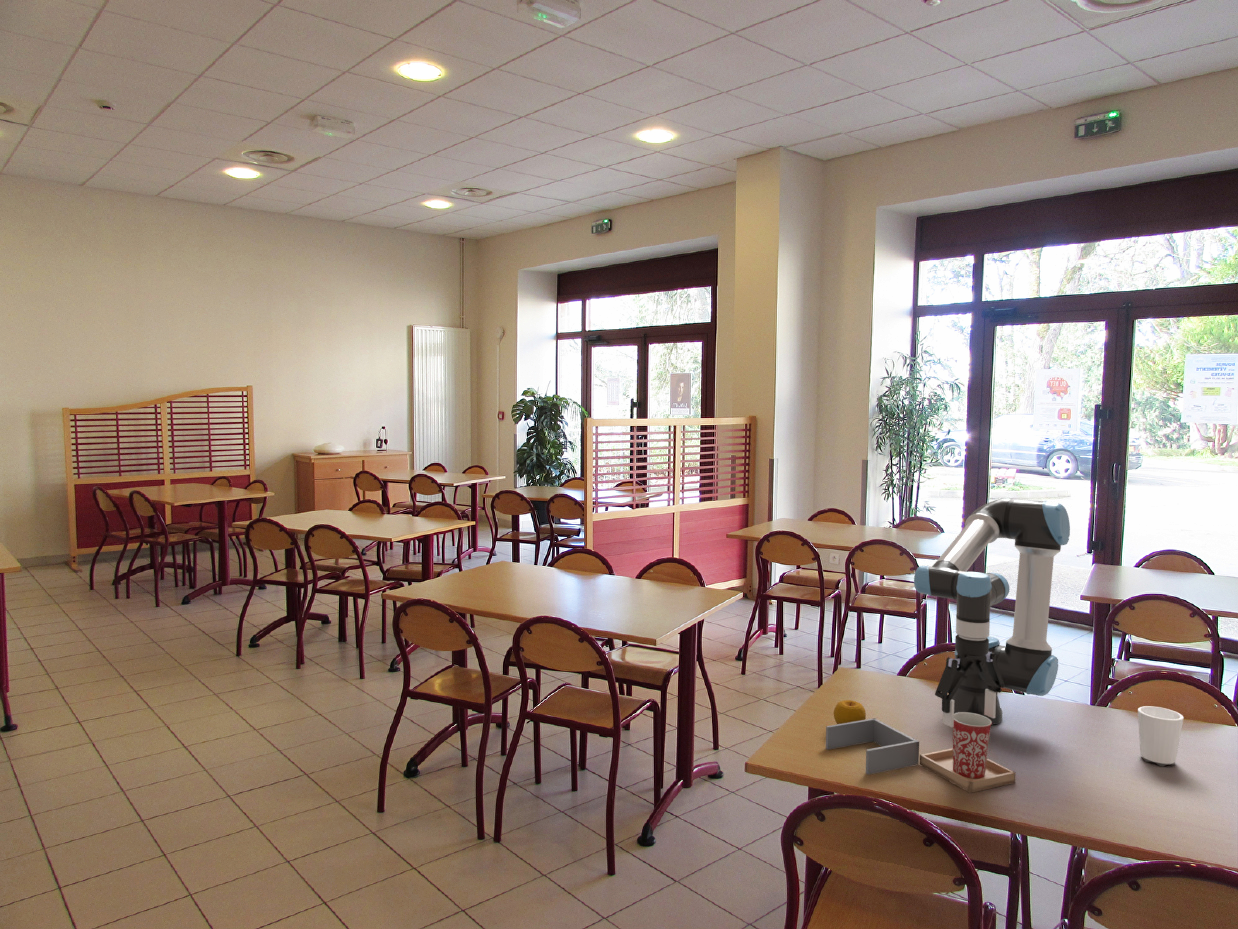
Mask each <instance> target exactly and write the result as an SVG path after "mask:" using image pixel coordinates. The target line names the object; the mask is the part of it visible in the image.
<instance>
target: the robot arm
mask: <svg viewBox="0 0 1238 929" xmlns="http://www.w3.org/2000/svg"><path fill="white" fill-rule="evenodd" d="M1070 535H1071V525H1070V518H1069V514H1068V511H1067V509H1066V508H1065V506H1064V505H1063V504H1061V503H1059V502H1055V501H1054V502H1053V501H1048V500H1043V501H1042V500H1032V499H1018V498H1000V499H994V500H993V501H989V502H988V503H985V504H984V505H982V506H979V507H978V508H976V509H975V510H974V511H973V512H972V513H971V514H970V515H969V516H968V517H967V518H966V519H965V522H964V528H963V529H962V530H961V531H960V532H959V533H958V535H957V536H955V539H954V540H953V541H952V542H951V543H950V545H949V546H948V547H947V548H946V549H945V550H944V552H942V554H941V556H939V558H938V559H937V560H936V561H935V563H933V565H932V566H930V565H920V566H918V567H917V568H916V570H915V573H914V575H913V576H914V577H913V584H914V585H913V586H914V588H915V591H916V592H917V593H918V594H922V595H928V596H930V597H937V598H943V599H949V600H950V599H951V600H956V612H955V613H956V614H955V615H956V618H955V622H956V623H955V634H956V635H955V640H954V642H955V643H954V646H955V647H954V649H955V650H954V653H953V654H954V658H952V657H949V656H948V657H947V658H946V660H945V667H944V669H943V673H942V674H941V677H940V680H939V682H938V685H937V688H936V689H935V692H934V696H935V697H937V698H940V699H941V712H942V724H944V725H946V726H948V727H951V728H953V727H954V714H955V713H959V712H968V713H975V714H979V715H982V716H985V717H987V718H989V719H990V720H991V721H992V725H996V724H999V723H1001V722H1002V721H1003V710H1002V707H1001V705H1000V701H999V696H998V693H999V694H1001V693H1002V690H1003V689H1008V690H1012V691H1015V692H1020V693H1024V694H1027V695H1032V696H1033V695H1034V696H1037V697H1038V696H1040V697H1043V696H1047V695H1048V694H1049V693H1050V692H1051V690H1052V688H1053V687H1054V684H1055V682H1056V679H1057V676H1058V670H1059V659H1058V657H1056V656H1055V655H1054V654H1052V652H1053V647H1052V646H1051V645H1050V644H1049V643H1048V642H1047V638H1048V637H1047V636H1048V635H1047V634H1048V628H1049V615H1050V614H1049V613H1050V603H1051V594H1052V583H1053V581H1052V580H1053V569H1054V558H1055V556H1056V555H1057V554H1059V553H1060V552H1061V549H1062V546H1066V545H1067V544H1068V542H1070ZM997 539H1009V540H1014V547H1015V548H1016V550H1017V551H1018V552H1019V559H1018V569H1017V581H1016V591H1015V594H1016V595H1015V604H1014V615H1013V627H1012V628H1013V629H1012V636H1011V637H1010V638H1008V639H1007V640H1006V641H1005V645H1000V644H1001V642H1000V639H999V638H997V637H994V636H990V628H991V627H990V626H991V624H990V622H991V621H990V620H991V607H992V606H995V605H997V604H1000V603H1002V602H1003V601H1004V600H1005V599H1006V598H1007V597H1008V596H1009V594H1010V584H1009V581H1008V580H1007V578H1006V577H1004V576H1003V575H1002V574H1000V573H997V572H987V573H985V572H978V571H977V572H976V571H968V570H969V569H970V568H971V566H973V563H975V562H976V560H977V559H978V557H979V556H980V554H982V552H983V551H984V550H985V549H986V547H987V546H988V545H989V544H991V543H994V542H995V541H996V540H997Z"/></svg>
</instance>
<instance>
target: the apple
mask: <svg viewBox="0 0 1238 929" xmlns="http://www.w3.org/2000/svg"><path fill="white" fill-rule="evenodd" d="M866 714H867V712H866V708H864V706H863V704H862V703H860V702H859V701H855V700H852V699H850V700H849V699H847V700H846V699H844V700H841V701H839V702H837V704H836V705H835V708H834V710H833V718H834V720H835V723H836V725H837V724H843V723H849V722H855V721H861V720H867V719H866V718H867V715H866Z"/></svg>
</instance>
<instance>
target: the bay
mask: <svg viewBox="0 0 1238 929" xmlns="http://www.w3.org/2000/svg"><path fill="white" fill-rule="evenodd" d="M825 729H826V730H825V749H826V750H828V751H829V750H833V749H839V748H845V747H849V746H850V747H851V746H855V745H860V744H867V743H875V744H877V745H879V746H880V747H874V748H868V749H865V752H866V753H865V774H866V775H869V776H870V775H873V774H877V773H883V772H889V771H893V770H898V769H899V770H900V769H902V768H907V767H908V768H909V767H913V766H917V765H919V761H920V741H919V740H917V739H915V738H914V737H911V736H910V735H908V734H906V733H904V732H902V731H900V730H899V729H897V728H894V727H893V726H891V725H890V724H887V723H886V722H883V721H881V720H879V719H877V718H874V717H873V718H869V719H866V720H861V721H855V722H849V723H843V724H837V723H836V724H833V725H827V726H826V728H825Z"/></svg>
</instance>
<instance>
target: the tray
mask: <svg viewBox="0 0 1238 929" xmlns="http://www.w3.org/2000/svg"><path fill="white" fill-rule="evenodd" d="M918 765H919V766H921V767H923V768H925V769H927V770H929V771H930V772H932V773H934V774H936V775H938V776H939V777H941V778H943V779H944V780H947V781H948V782H950V783H951V784H953V785H956V786H957V787H959V788H961V789H963V790H965V791H966V792H968V793H969V794H970V793H975V792H979V791H984V790H988V789H989V790H990V789H993V788H998V787H1003V786H1006V785H1011V784H1016V778H1017V777H1016V772H1015V771H1013V770H1011V769H1009V768H1007V767H1005V766H1003V765H1002V764H999V763H997V762H995V761H993V760H992V759H989V758H987V760H986V770H985V776H984V777H982V778H977V779H974V778H967V777H964V776H961V775H959V774H957V773H955V772H954V770H953V747H952V748H948V749H947V748H946V749H943V750H942V749H941V750H938V751H937V750H936V751H932V752H928V753H922V754H919V763H918Z"/></svg>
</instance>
